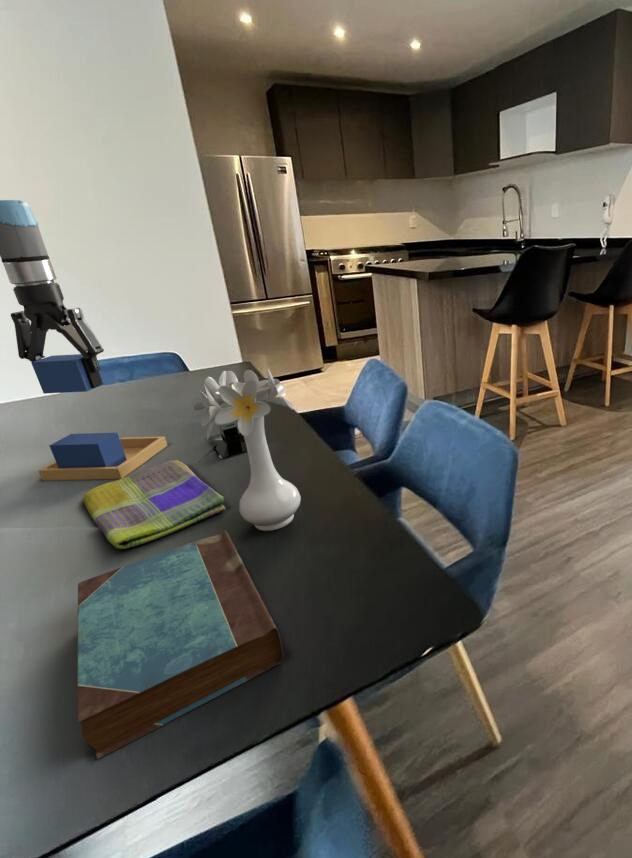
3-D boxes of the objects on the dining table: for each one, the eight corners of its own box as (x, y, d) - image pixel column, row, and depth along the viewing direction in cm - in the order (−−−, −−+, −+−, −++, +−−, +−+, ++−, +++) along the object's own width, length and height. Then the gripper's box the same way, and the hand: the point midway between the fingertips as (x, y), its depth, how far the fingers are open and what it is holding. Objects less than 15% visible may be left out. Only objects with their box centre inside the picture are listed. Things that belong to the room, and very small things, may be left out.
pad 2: (62, 477, 97) (49, 445, 95) (82, 464, 102) (71, 433, 100) (109, 476, 97) (97, 443, 94) (128, 463, 102) (117, 432, 99)
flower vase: (279, 486, 90) (250, 353, 80) (336, 522, 78) (309, 370, 68) (207, 517, 81) (164, 372, 72) (257, 563, 69) (214, 396, 60)
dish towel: (112, 559, 72) (106, 544, 71) (83, 502, 89) (77, 488, 88) (231, 510, 83) (227, 496, 82) (185, 467, 100) (181, 455, 99)
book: (286, 661, 53) (277, 626, 51) (93, 762, 44) (73, 724, 42) (235, 558, 71) (227, 528, 69) (89, 615, 62) (75, 583, 60)
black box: (257, 449, 106) (252, 429, 104) (221, 460, 102) (216, 439, 100) (241, 432, 115) (236, 413, 113) (208, 441, 111) (203, 422, 110)
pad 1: (43, 393, 106) (30, 362, 104) (63, 385, 111) (51, 355, 109) (87, 391, 106) (75, 360, 103) (104, 383, 111) (94, 353, 108)
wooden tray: (43, 483, 97) (37, 470, 96) (98, 449, 111) (94, 438, 110) (122, 481, 96) (118, 468, 94) (168, 447, 109) (164, 436, 108)
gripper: (100, 278, 102) (134, 379, 111) (0, 284, 104) (40, 384, 113) (73, 282, 96) (111, 390, 104) (-34, 289, 97) (12, 395, 106)
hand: (74, 387), depth 108 cm, fingers closed on pad 1, 10 cm apart
